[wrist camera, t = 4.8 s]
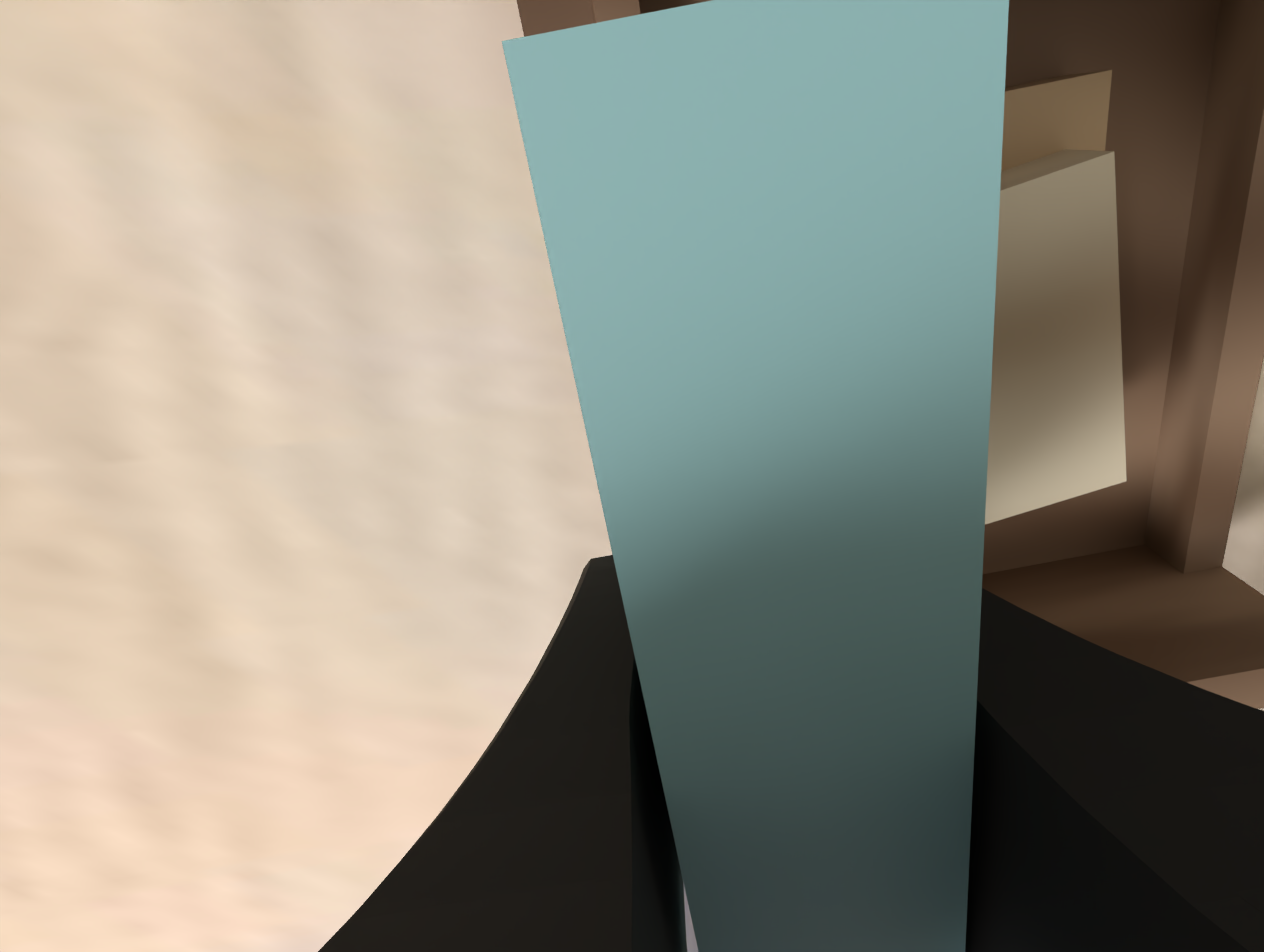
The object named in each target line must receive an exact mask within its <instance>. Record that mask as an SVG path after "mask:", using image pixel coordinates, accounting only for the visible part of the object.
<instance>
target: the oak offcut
mask: <svg viewBox="0 0 1264 952" xmlns="http://www.w3.org/2000/svg"><path fill="white" fill-rule="evenodd" d="M1111 78H1112V70H1106V71H1097V72H1088V73H1079V74H1070V75H1063V76H1058V77H1053V78H1048V79H1043V80H1038V81H1034V82H1029V83H1024V84H1019V85H1014V86H1009V87H1005V98H1004V120H1003V141H1002V163H1001V171H1004V170H1007V169H1010V168H1013V167H1016V166H1018V165H1021V164H1024V163H1027V162H1030V161H1033V160H1036V159H1039V158H1041V157H1044V156H1047V155H1050V154H1053V153H1056V152H1059V151H1061V150H1064V149H1072V150H1095V151H1105V145H1106V133H1107V122H1108V111H1109V100H1110V89H1111Z"/></svg>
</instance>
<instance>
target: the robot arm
mask: <svg viewBox="0 0 1264 952" xmlns="http://www.w3.org/2000/svg"><path fill="white" fill-rule="evenodd" d="M318 952H698V947H697V942H696V938H695V933H694V929H693V924H692V919H691V915H690V910H689V905H688V901H687V896H686V892H685V887H684V882H683V878H682V873H681V868H680V864H679V859H678V854H677V850H676V845H675V841H674V836H673V831H672V827H671V822H670V817H669V813H668V808H667V804H666V799H665V794H664V790H663V785H662V780H661V776H660V771H659V767H658V762H657V757H656V753H655V748H654V743H653V739H652V734H651V730H650V725H649V720H648V716H647V711H646V706H645V702H644V697H643V692H642V688H641V683H640V679H639V674H638V669H637V665H636V660H635V655H634V651H633V646H632V642H631V637H630V632H629V628H628V623H627V618H626V614H625V609H624V605H623V600H622V595H621V591H620V586H619V581H618V577H617V572H616V568H615V563H614V558H613V555H610V556H605V557H599V558H593V559H591V560H590V561H589V562H588V564H587V565H586V566H585V568H584V569H583V572H582V575H581V577H580V580H579V582H578V585H577V587H576V590H575V592H574V594H573V597H572V599H571V601H570V603H569V605H568V608H567V610H566V612H565V614H564V616H563V618H562V620H561V622H560V624H559V626H558V629H557V630H556V632H555V634H554V636H553V638H552V640H551V642H550V644H549V646H548V647H547V649H546V651H545V653H544V655H543V657H542V659H541V661H540V663H539V664H538V666H537V668H536V670H535V672H534V674H533V675H532V677H531V679H530V681H529V682H528V684H527V686H526V687H525V689H524V690H523V692H522V694H521V695H520V697H519V699H518V700H517V702H516V703H515V705H514V707H513V708H512V710H511V712H510V713H509V715H508V716H507V718H506V720H505V721H504V723H503V725H502V726H501V728H500V729H499V731H498V733H497V734H496V736H495V737H494V739H493V740H492V742H491V743H490V745H489V746H488V747H487V749H486V750H485V752H484V753H483V755H482V756H481V758H480V759H479V761H478V762H477V763H476V765H475V766H474V768H473V769H472V770H471V772H470V773H469V775H468V776H467V777H466V779H465V780H464V781H463V783H462V784H461V785H460V787H459V788H458V789H457V791H456V792H455V793H454V795H453V796H452V797H451V799H450V800H449V801H448V803H447V804H446V805H445V807H444V808H443V809H442V811H441V812H440V813H439V815H438V816H437V817H436V818H435V820H434V821H433V822H432V823H431V825H430V826H429V827H428V828H427V829H426V831H425V832H424V833H423V834H422V835H421V837H420V838H419V839H418V840H417V841H416V843H415V844H414V845H413V846H412V848H411V849H410V850H409V851H408V852H407V854H406V855H405V856H404V857H403V858H402V860H401V861H400V862H399V863H398V864H397V865H396V867H395V868H394V869H393V870H392V871H391V872H390V874H389V875H388V876H387V877H386V878H385V879H384V880H383V882H382V883H381V884H380V885H379V886H378V887H377V889H376V890H375V891H374V892H373V893H372V894H371V895H370V897H369V898H368V899H367V900H366V901H365V902H364V904H363V905H362V906H361V907H360V908H359V909H358V910H357V911H356V912H355V913H354V915H353V916H352V917H351V918H350V919H349V920H348V921H347V922H346V923H345V924H344V925H343V926H342V927H341V928H340V929H339V930H338V931H337V932H336V934H335V935H334V936H333V937H332V938H331V939H330V940H329V941H328V942H327V943H326V944H325V945H324V946H323V947H322V948H321V949H320V950H319V951H318ZM965 952H1264V711H1262V710H1259V709H1256V708H1253V707H1250V706H1248V705H1245V704H1242V703H1240V702H1237V701H1234V700H1231V699H1229V698H1226V697H1223V696H1221V695H1218V694H1215V693H1213V692H1210V691H1207V690H1205V689H1202V688H1199V687H1197V686H1194V685H1192V684H1189V683H1187V682H1185V681H1182V680H1180V679H1177V678H1175V677H1172V676H1170V675H1168V674H1165V673H1163V672H1160V671H1158V670H1155V669H1153V668H1150V667H1148V666H1146V665H1143V664H1141V663H1138V662H1136V661H1133V660H1131V659H1129V658H1126V657H1124V656H1121V655H1119V654H1116V653H1114V652H1112V651H1110V650H1108V649H1105V648H1103V647H1101V646H1099V645H1096V644H1094V643H1092V642H1090V641H1087V640H1085V639H1083V638H1081V637H1079V636H1077V635H1075V634H1072V633H1070V632H1068V631H1066V630H1064V629H1062V628H1060V627H1058V626H1056V625H1054V624H1052V623H1050V622H1048V621H1046V620H1044V619H1042V618H1040V617H1038V616H1036V615H1034V614H1032V613H1030V612H1028V611H1025V610H1023V609H1021V608H1019V607H1017V606H1016V605H1014V604H1012V603H1010V602H1008V601H1006V600H1004V599H1002V598H1000V597H998V596H997V595H995V594H993V593H991V592H989V591H987V590H985V589H983V588H982V597H981V618H980V640H979V662H978V683H977V705H976V727H975V749H974V770H973V792H972V814H971V835H970V857H969V879H968V900H967V922H966V944H965Z"/></svg>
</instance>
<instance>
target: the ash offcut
mask: <svg viewBox="0 0 1264 952" xmlns="http://www.w3.org/2000/svg"><path fill="white" fill-rule="evenodd" d="M1125 481H1127V479H1126V452H1125V425H1124V398H1123V371H1122V345H1121V318H1120V291H1119V264H1118V237H1117V210H1116V183H1115V156H1114V151H1095V150H1072V149H1064V150H1061V151H1059V152H1056V153H1053V154H1050V155H1047V156H1044V157H1041V158H1039V159H1036V160H1033V161H1030V162H1027V163H1024V164H1021V165H1018V166H1016V167H1013V168H1010V169H1007V170H1004V171H1001V185H1000V206H999V228H998V250H997V271H996V293H995V315H994V337H993V358H992V380H991V402H990V423H989V445H988V467H987V488H986V510H985V524H989V523H992V522H995V521H998V520H1002V519H1005V518H1008V517H1011V516H1015V515H1018V514H1021V513H1024V512H1028V511H1031V510H1034V509H1037V508H1041V507H1044V506H1047V505H1051V504H1054V503H1057V502H1060V501H1064V500H1067V499H1070V498H1073V497H1077V496H1080V495H1083V494H1086V493H1090V492H1093V491H1096V490H1099V489H1103V488H1106V487H1109V486H1112V485H1116V484H1119V483H1122V482H1125Z"/></svg>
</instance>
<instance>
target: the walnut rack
mask: <svg viewBox="0 0 1264 952" xmlns="http://www.w3.org/2000/svg"><path fill="white" fill-rule="evenodd" d="M706 1H711V0H517V4H518V9H519V14H520V18H521V23H522V28H523V32H524V37H526V36H531V35H537V34H542V33H547V32H552V31H557V30H562V29H567V28H573V27H578V26H583V25H588V24H593V23H598V22H603V21H609V20H614V19H619V18H624V17H629V16H634V15H639V14H645V13H650V12H655V11H660V10H665V9H670V8H675V7H680V6H686V5H691V4H696V3H701V2H706ZM1106 70H1112V78H1111V89H1110V100H1109V111H1108V122H1107V133H1106V145H1105V151H1114V156H1115V183H1116V210H1117V237H1118V264H1119V291H1120V318H1121V345H1122V371H1123V398H1124V425H1125V452H1126V479H1127V481H1125V482H1122V483H1119V484H1116V485H1112V486H1109V487H1106V488H1103V489H1099V490H1096V491H1093V492H1090V493H1086V494H1083V495H1080V496H1077V497H1073V498H1070V499H1067V500H1064V501H1060V502H1057V503H1054V504H1051V505H1047V506H1044V507H1041V508H1037V509H1034V510H1031V511H1028V512H1024V513H1021V514H1018V515H1015V516H1011V517H1008V518H1005V519H1002V520H998V521H995V522H992V523H989V524H985V532H984V553H983V575H982V588H983V589H985V590H987V591H989V592H991V593H993V594H995V595H997V596H998V597H1000V598H1002V599H1004V600H1006V601H1008V602H1010V603H1012V604H1014V605H1016V606H1017V607H1019V608H1021V609H1023V610H1025V611H1028V612H1030V613H1032V614H1034V615H1036V616H1038V617H1040V618H1042V619H1044V620H1046V621H1048V622H1050V623H1052V624H1054V625H1056V626H1058V627H1060V628H1062V629H1064V630H1066V631H1068V632H1070V633H1072V634H1075V635H1077V636H1079V637H1081V638H1083V639H1085V640H1087V641H1090V642H1092V643H1094V644H1096V645H1099V646H1101V647H1103V648H1105V649H1108V650H1110V651H1112V652H1114V653H1116V654H1119V655H1121V656H1124V657H1126V658H1129V659H1131V660H1133V661H1136V662H1138V663H1141V664H1143V665H1146V666H1148V667H1150V668H1153V669H1155V670H1158V671H1160V672H1163V673H1165V674H1168V675H1170V676H1172V677H1175V678H1177V679H1180V680H1182V681H1185V682H1187V683H1189V684H1192V685H1194V686H1197V687H1199V688H1202V689H1205V690H1207V691H1210V692H1213V693H1215V694H1218V695H1221V696H1223V697H1226V698H1229V699H1231V700H1234V701H1237V702H1240V703H1242V704H1245V705H1248V706H1250V707H1253V708H1256V709H1258V708H1264V595H1262V594H1261V593H1259V592H1258V591H1256V590H1255V589H1253V588H1252V587H1251V586H1249V585H1248V584H1246V583H1245V582H1243V581H1242V580H1240V579H1239V578H1238V577H1236V576H1235V575H1233V574H1232V573H1230V572H1229V571H1227V570H1226V569H1224V568H1223V567H1222V564H1223V559H1224V554H1225V549H1226V543H1227V538H1228V533H1229V528H1230V523H1231V518H1232V513H1233V508H1234V503H1235V498H1236V493H1237V488H1238V483H1239V478H1240V473H1241V468H1242V463H1243V458H1244V453H1245V448H1246V443H1247V438H1248V433H1249V428H1250V422H1251V417H1252V412H1253V407H1254V402H1255V397H1256V392H1257V387H1258V382H1259V377H1260V372H1261V367H1262V362H1263V357H1264V0H1009V11H1008V33H1007V55H1006V76H1005V87H1009V86H1014V85H1019V84H1024V83H1029V82H1034V81H1038V80H1043V79H1048V78H1053V77H1058V76H1063V75H1070V74H1079V73H1088V72H1097V71H1106Z"/></svg>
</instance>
